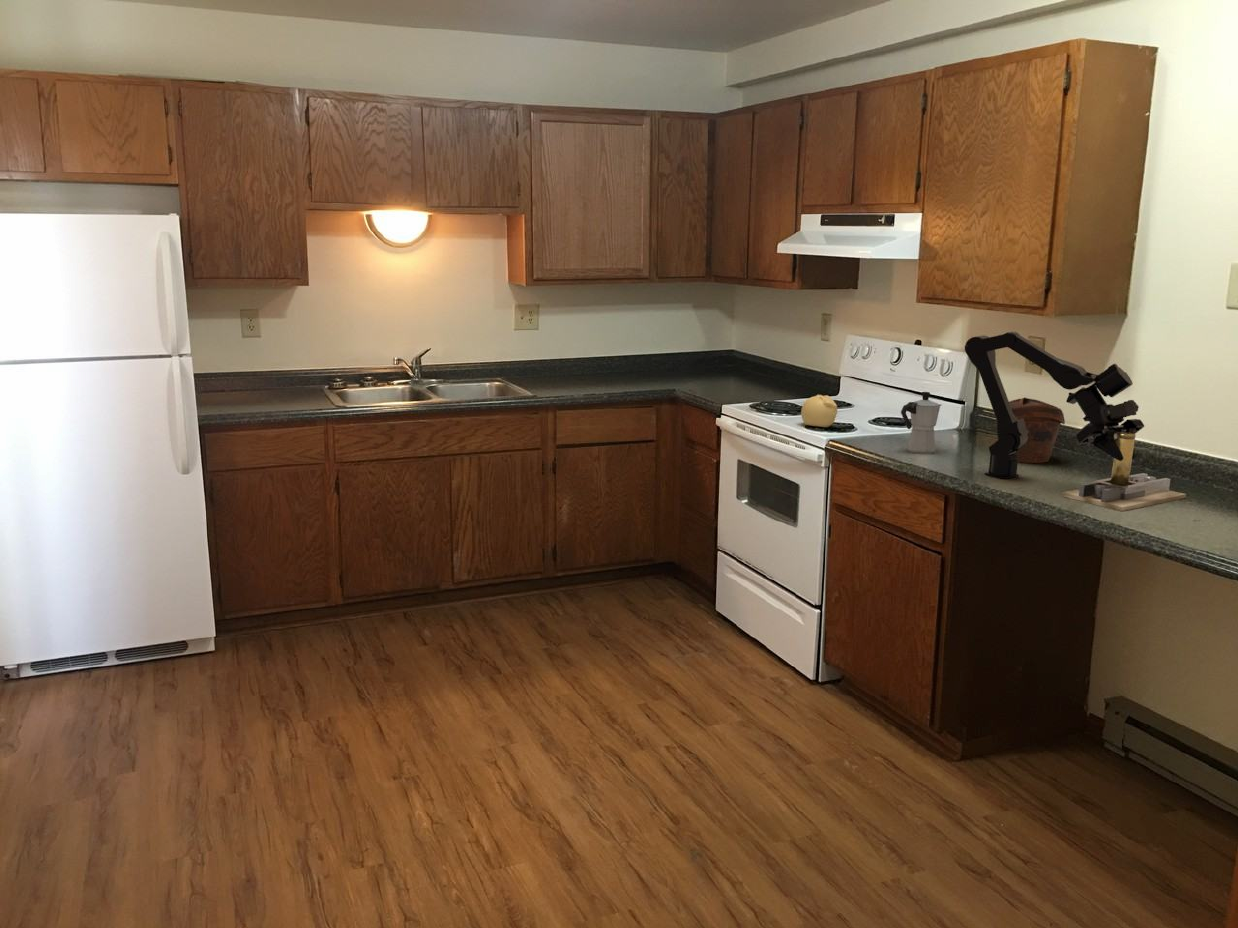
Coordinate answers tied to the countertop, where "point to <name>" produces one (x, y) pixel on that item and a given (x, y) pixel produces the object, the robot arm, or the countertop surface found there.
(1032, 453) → the reddish brown pot
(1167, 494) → the board
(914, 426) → the coffee maker
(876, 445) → the countertop surface
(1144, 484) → the grey slotted tray
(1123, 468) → the pin
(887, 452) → the countertop surface
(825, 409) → the tan round lump
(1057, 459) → the countertop surface
